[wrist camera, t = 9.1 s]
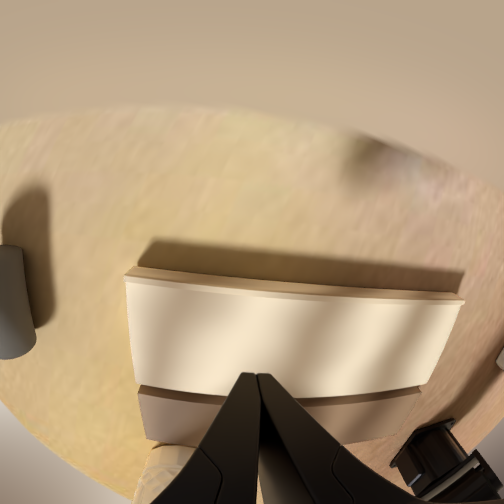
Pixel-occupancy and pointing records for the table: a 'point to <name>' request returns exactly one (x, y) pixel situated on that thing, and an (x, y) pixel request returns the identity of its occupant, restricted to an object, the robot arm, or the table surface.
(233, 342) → the pale oak plank
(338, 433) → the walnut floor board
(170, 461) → the white cup
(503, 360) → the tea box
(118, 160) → the table surface
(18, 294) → the rubber mallet
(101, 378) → the table surface
